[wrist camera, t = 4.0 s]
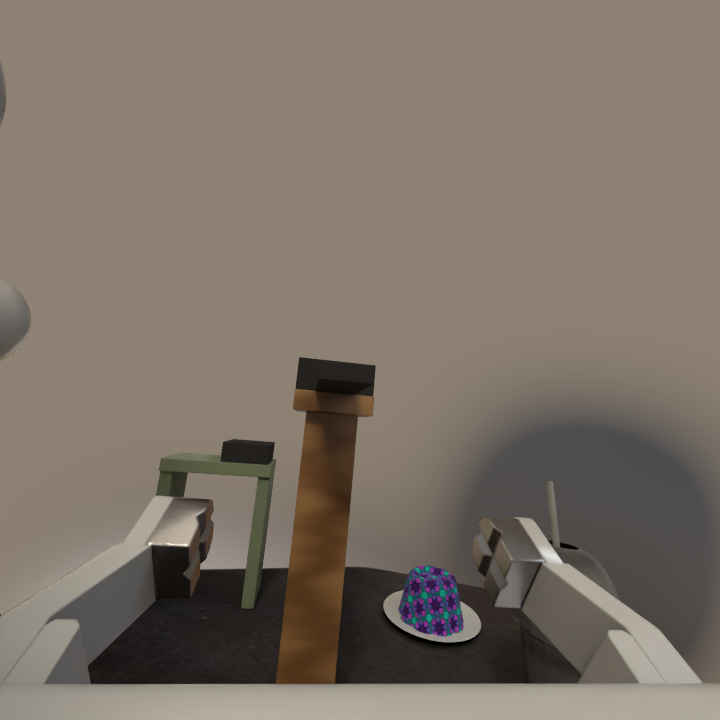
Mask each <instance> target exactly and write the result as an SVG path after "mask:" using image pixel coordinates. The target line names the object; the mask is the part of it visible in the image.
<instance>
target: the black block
mask: <svg viewBox="0 0 720 720" xmlns="http://www.w3.org/2000/svg"><path fill="white" fill-rule="evenodd" d="M274 444H275V443H274V442H262V441H249V440H236V439H233V440H229V441H225V442H223V447H222V453H221V460H220V462H233V463H247V464H261V465H268V464H269V463H270V462H271V461H272V459H273V452H274Z"/></svg>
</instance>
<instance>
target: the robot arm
mask: <svg viewBox="0 0 720 720" xmlns="http://www.w3.org/2000/svg"><path fill="white" fill-rule="evenodd" d="M5 105H6V82H5V76H4V72H3V66H2V63H1V59H0V126H1V123H2V120H3V116H4V112H5ZM30 327H31V315H30V310H29V307H28V305H27V302H26V300H25V299H24V297H23V296H22V294H21V293H20V292H19V291H18V290H17V289H16V287H14V286H13V285H11V284H9V283H7V282H5V281H3V280H1V279H0V361H2V360H4V359H5V358H7V357H9V356H10V355H12V354H13V353H14V352H15V351H16V350H17V349H19V348H20V346H21V345H22V344H23V343H24V341H25V340H26V338H27V336H28V334H29V331H30ZM212 513H213V501H212V500H209V499H197V498H185V497H168V496H156V497H154V498H153V499H152V500H151V502H150V503H149V505H148V506H147V508H146V509H145V511H144V512H143V513H142V515H141V516H140V518H139V520H138V521H137V522H136V524H135V526H134V527H133V528H132V530H131V531H130V533H129V534H128V536H127V537H126V539H125V540H124V542H123V543H122V544H115V545H113V546H112V547H110V548H109V549H107V550H105V551H104V552H102V553H100V554H99V555H97V556H96V557H94V558H93V559H91V560H89V561H88V562H86V563H85V564H83V565H81V566H80V567H78V568H77V569H75V570H73V571H72V572H70V573H69V574H67V575H65V576H64V577H62V578H60V579H59V580H57V581H56V582H54V583H52V584H51V585H49V586H48V587H46V588H44V589H43V590H41V591H39V592H38V593H36V594H35V595H33V596H32V597H30V598H28V599H27V600H25V601H23V602H22V603H20V604H19V605H17V606H15V607H14V608H12V609H11V610H9V611H8V612H6V613H4V614H3V615H1V616H0V720H720V683H702V682H701V680H700V679H699V678H698V677H697V676H696V674H695V673H694V672H693V671H692V669H691V668H690V667H689V666H688V664H687V663H686V662H685V661H684V659H683V658H682V657H681V656H680V655H679V653H678V652H677V651H676V650H675V648H674V647H673V646H672V645H671V643H670V642H669V641H668V640H667V639H666V637H665V636H664V635H663V634H662V632H661V631H660V630H659V629H657V628H656V627H655V626H653V625H652V624H651V623H649V622H648V621H647V620H645V619H644V618H642V617H641V616H639V615H638V614H637V613H635V612H634V611H633V610H631V609H630V608H629V607H627V606H626V605H624V604H623V603H622V602H620V601H619V600H618V599H616V598H615V597H614V596H612V595H611V594H609V593H608V592H607V591H605V590H604V589H602V588H601V587H600V586H598V585H597V584H596V583H594V582H593V581H591V580H590V579H589V578H587V577H586V576H584V575H583V574H582V573H580V572H579V571H578V570H576V569H575V568H573V567H572V566H571V565H569V564H564V563H563V562H562V560H561V559H560V558H559V556H558V555H557V553H556V552H555V550H554V549H553V548H552V546H551V545H550V543H549V542H548V540H547V539H546V537H545V536H544V535H543V533H542V532H541V530H540V529H539V527H538V526H537V524H536V523H535V522H534V521H533V520H532V519H530V518H512V517H493V516H484V517H483V518H482V519H481V521H480V524H479V527H480V529H481V532H480V533H479V534H478V535H476V536H475V538H474V542H473V558H474V562H475V565H476V567H477V570H478V571H479V572H480V573H481V574H483V575H484V576H485V577H486V578H485V581H484V586H485V588H486V591H487V593H488V595H489V598H490V600H491V602H492V605H493V607H507V608H522V609H521V610H522V612H523V613H524V614H525V615H526V616H527V617H528V618H529V619H530V620H531V621H532V622H533V623H534V624H535V625H536V627H537V628H538V629H539V630H540V631H541V632H542V633H543V634H544V635H545V636H546V637H547V638H548V639H549V641H550V642H551V643H552V644H553V645H554V646H555V647H556V648H557V649H558V650H559V651H560V652H561V653H562V655H563V656H564V657H565V658H566V659H567V660H568V661H569V662H570V663H571V664H572V665H573V666H574V667H575V668H576V670H577V671H578V672H579V673H580V674H581V675H582V676H581V677H580V679H579V681H578V683H577V684H91V682H90V677H89V672H88V665H89V664H90V663H91V662H92V661H93V660H94V659H95V658H97V657H98V656H99V655H100V654H101V653H102V652H103V651H104V650H105V649H106V648H107V647H108V646H109V645H110V644H111V643H112V642H113V641H114V640H115V639H116V638H117V637H118V636H119V635H120V634H121V633H123V632H124V631H125V630H126V629H127V628H128V627H129V626H130V625H131V624H132V623H133V622H134V621H135V620H136V619H137V618H138V617H139V616H140V615H141V614H142V613H143V612H144V611H145V610H146V609H147V608H149V607H150V606H151V605H152V604H153V603H154V602H155V599H170V598H191V596H192V594H193V591H194V589H195V586H196V584H197V581H198V578H199V576H200V564H201V563H202V562H203V561H204V560H205V559H206V558H207V555H208V552H209V549H210V545H211V541H212V536H213V522H212V521H211V519H210V518H211V515H212Z"/></svg>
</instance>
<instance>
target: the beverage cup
mask: <svg viewBox="0 0 720 720" xmlns="http://www.w3.org/2000/svg"><path fill="white" fill-rule="evenodd" d="M546 484H547V494H548V504H549V513H550V524H551V533H552V540H548V542H549V543H550V545H551V546H552V548H553V549H554V550H555V552H556V553H557V555H558V556H559V558H560V559H561V560H562V562H563V563H564V564H569V565H571V566H572V567H573V568H575V569H576V570H578V571H579V572H580V573H582V574H583V575H584V576H586V577H587V578H589V579H590V580H591V581H593V582H594V583H596V584H597V585H598V586H600V587H601V588H602V589H604V590H605V591H607V592H608V593H609V594H611V595H612V596H614V597H615V598H616V599H618V600H619V598H618V595H617V592H616V589H615V587H614V585H613V583H612V581H611V579H610V578H609V576H608V574H607V573H606V571H605V570H604V568H603V567H602V566H601V564H600V563H599V562H598V561H597V560H596V559H595V558H594V557H593V556H591V555H590V554H589V553H588V552H586V551H585V550H583V549H582V548H580V547H578V546H576V545H574V544H571V543H568V542H565V541H560V540H559V531H558V523H557V514H556V505H555V496H554V487H553V482H550V481H546ZM516 609H517V614H518V619H519V621H520V628H521V641H522V654H523V667H524V680H525V684H577V683H578V681H579V679H580V677H581V676H582V675H581V674H580V673H579V672H578V671H577V670H576V668H575V667H574V666H573V665H572V664H571V663H570V662H569V661H568V660H567V659H566V658H565V657H564V656H563V655H562V653H561V652H560V651H559V650H558V649H557V648H556V647H555V646H554V645H553V644H552V643H551V642H550V641H549V639H548V638H547V637H546V636H545V635H544V634H543V633H542V632H541V631H540V630H539V629H538V628H537V627H536V625H535V624H534V623H533V622H532V621H531V620H530V619H529V618H528V617H527V616H526V615H525V614H524V613H523V612H522V610H521V609H522V608H516Z"/></svg>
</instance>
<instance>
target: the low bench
mask: <svg viewBox="0 0 720 720" xmlns="http://www.w3.org/2000/svg"><path fill="white" fill-rule="evenodd" d="M220 460H221V456H219V455H205V454H191V453H179V454H175V455H171V456H168V457H164V458H161V461H160V462H161V463H160V467H159V471H160V476H159V482H158V488H157V493H156V496H168V497H184V491H185V485H186V479H187V474H188V472H190V473H204V474H205V473H206V474H219V475H235V476H250V477H258V484H257V491H256V498H255V506H254V513H253V521H252V528H251V535H250V543H249V551H248V558H247V566H246V573H245V581H244V588H243V596H242V603H241V609H253V608H254V605H255V601H256V598H257V595H258V591H259V588H260V583H261V575H262V567H263V559H264V550H265V543H266V535H267V527H268V519H269V511H270V503H271V495H272V487H273V479H274V470H275V465H276V460H275V459H272V461H271V462H270V463H269V464H268V465H261V464H247V463H233V462H220Z"/></svg>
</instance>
